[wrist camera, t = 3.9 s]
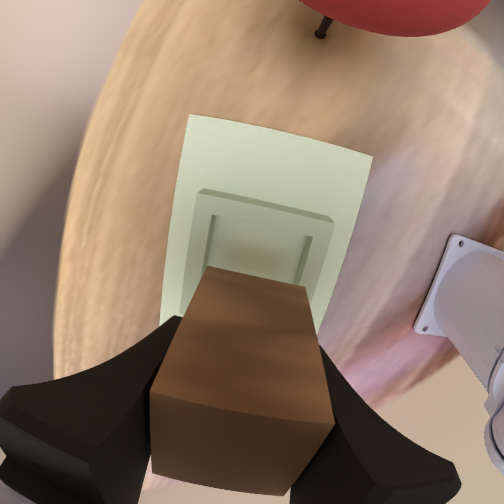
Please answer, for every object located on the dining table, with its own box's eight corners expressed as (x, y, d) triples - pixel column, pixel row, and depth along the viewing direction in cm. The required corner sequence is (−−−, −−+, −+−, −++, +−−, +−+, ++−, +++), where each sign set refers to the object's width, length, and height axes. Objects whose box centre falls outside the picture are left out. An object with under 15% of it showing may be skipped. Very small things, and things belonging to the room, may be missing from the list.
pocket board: (369, 156, 17) (383, 158, 15) (280, 415, 25) (281, 435, 22) (191, 114, 17) (181, 111, 15) (157, 389, 24) (150, 408, 22)
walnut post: (305, 286, 12) (335, 423, 6) (280, 361, 14) (283, 496, 7) (207, 265, 12) (149, 390, 6) (194, 344, 14) (151, 473, 7)
